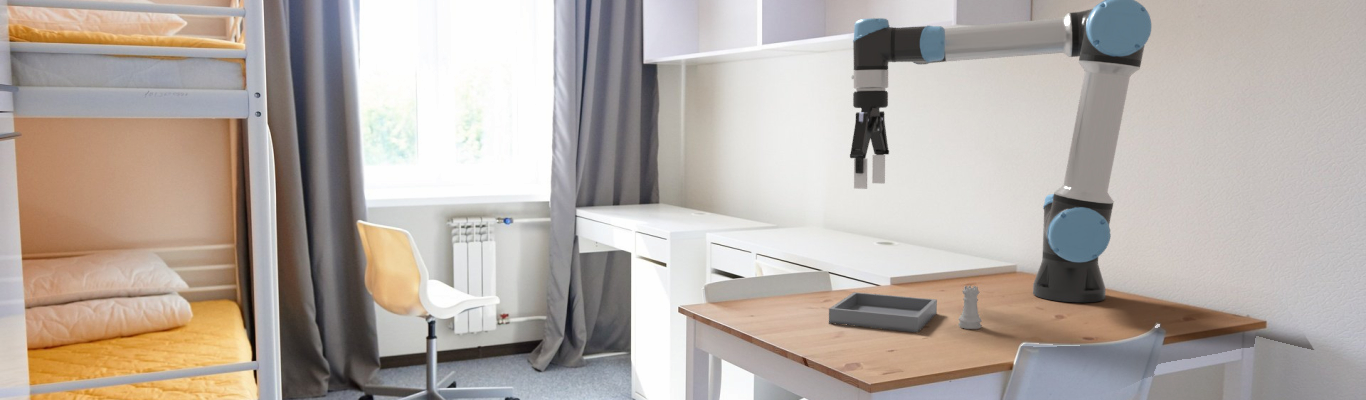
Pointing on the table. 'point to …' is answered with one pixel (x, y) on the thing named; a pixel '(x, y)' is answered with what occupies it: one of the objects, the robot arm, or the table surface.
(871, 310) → the tray
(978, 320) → the rook chess piece
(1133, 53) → the robot arm
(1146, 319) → the table surface
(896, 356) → the table surface
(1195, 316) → the table surface
